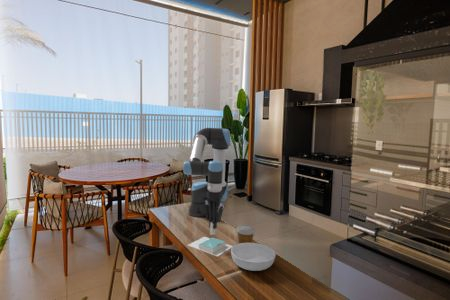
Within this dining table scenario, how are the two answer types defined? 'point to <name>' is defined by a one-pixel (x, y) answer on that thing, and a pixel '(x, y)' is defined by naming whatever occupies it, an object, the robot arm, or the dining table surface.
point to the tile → (212, 245)
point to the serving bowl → (253, 256)
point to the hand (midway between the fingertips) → (212, 233)
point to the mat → (217, 253)
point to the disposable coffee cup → (245, 234)
